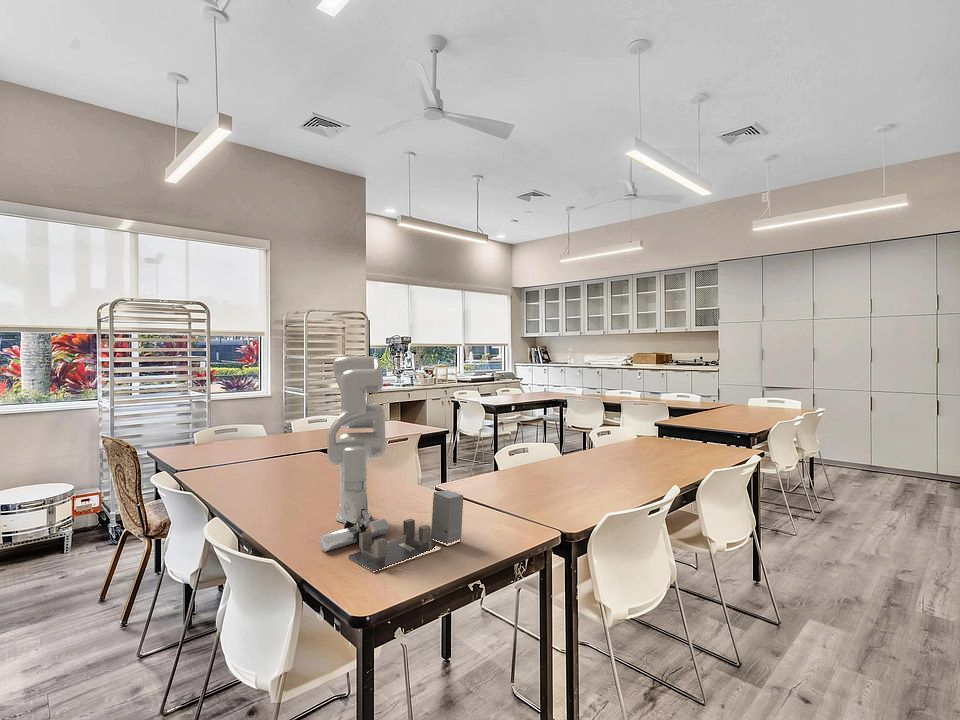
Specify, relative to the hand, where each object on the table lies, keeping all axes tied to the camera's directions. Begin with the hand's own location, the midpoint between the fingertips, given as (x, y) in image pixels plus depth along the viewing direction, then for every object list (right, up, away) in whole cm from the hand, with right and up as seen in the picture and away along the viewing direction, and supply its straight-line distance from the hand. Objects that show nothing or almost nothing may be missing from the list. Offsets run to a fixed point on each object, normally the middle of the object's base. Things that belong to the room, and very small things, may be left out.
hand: (355, 539), depth 165 cm
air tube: (0, +2, 0) cm, 2 cm away
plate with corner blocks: (+15, -1, -9) cm, 17 cm away
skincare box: (+30, -1, +1) cm, 30 cm away
